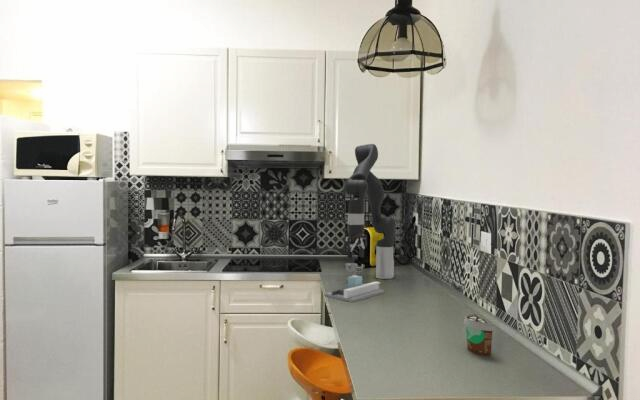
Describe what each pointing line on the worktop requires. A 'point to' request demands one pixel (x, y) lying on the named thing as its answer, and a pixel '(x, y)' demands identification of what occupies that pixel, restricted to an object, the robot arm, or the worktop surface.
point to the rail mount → (356, 292)
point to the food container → (478, 334)
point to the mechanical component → (353, 268)
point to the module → (354, 281)
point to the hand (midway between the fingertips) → (355, 258)
